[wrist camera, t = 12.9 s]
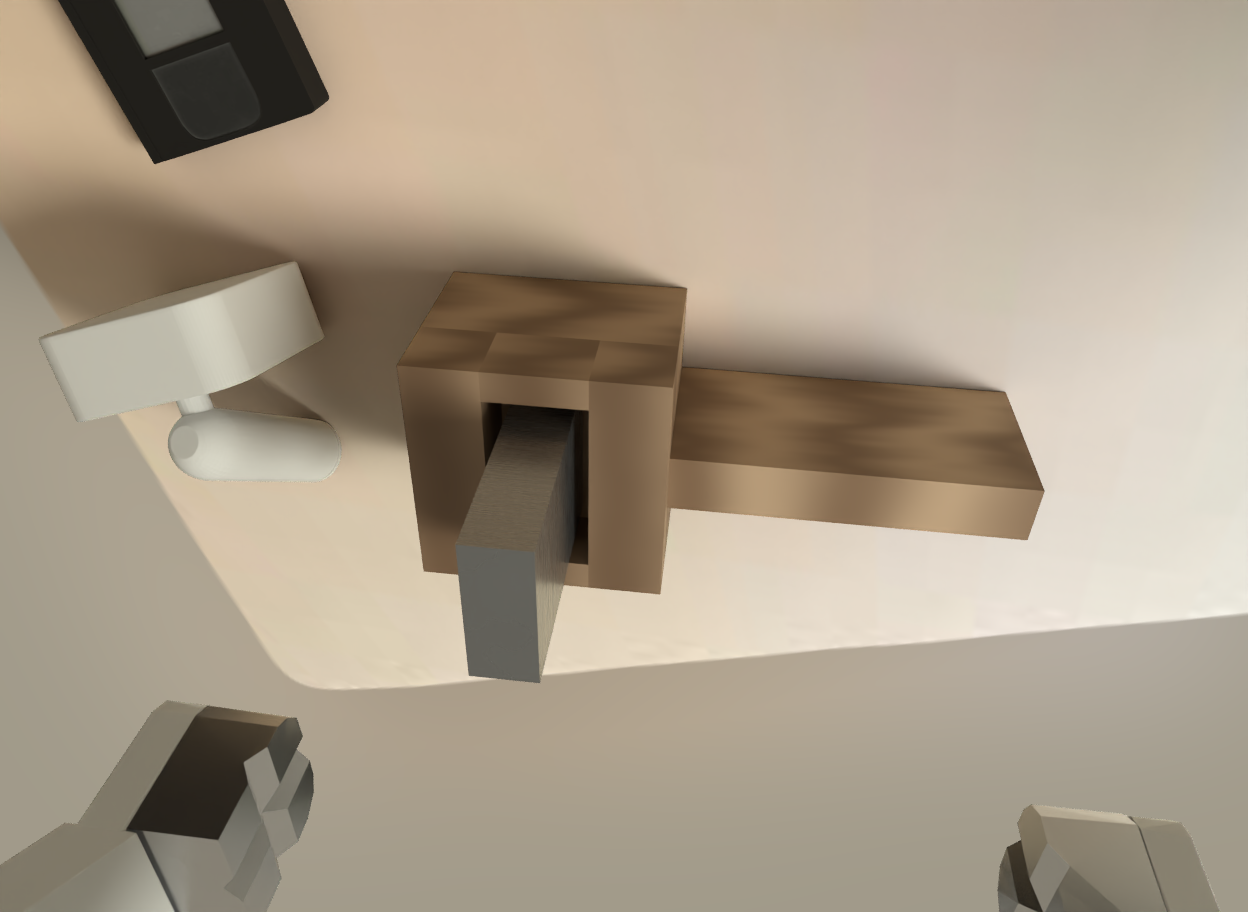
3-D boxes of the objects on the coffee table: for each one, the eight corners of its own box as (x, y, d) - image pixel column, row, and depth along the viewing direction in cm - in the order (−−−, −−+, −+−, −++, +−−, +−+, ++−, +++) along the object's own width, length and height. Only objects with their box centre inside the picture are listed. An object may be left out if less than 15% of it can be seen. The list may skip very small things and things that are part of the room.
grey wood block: (582, 384, 38) (534, 552, 30) (583, 504, 41) (540, 683, 33) (520, 379, 38) (455, 544, 30) (525, 498, 41) (468, 675, 33)
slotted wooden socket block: (1029, 313, 39) (1082, 420, 33) (971, 505, 45) (1007, 628, 39) (453, 271, 41) (396, 365, 35) (470, 460, 47) (423, 571, 41)
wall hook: (259, 485, 49) (133, 581, 40) (178, 287, 45) (19, 343, 36) (402, 458, 47) (303, 553, 38) (328, 249, 43) (199, 297, 34)
